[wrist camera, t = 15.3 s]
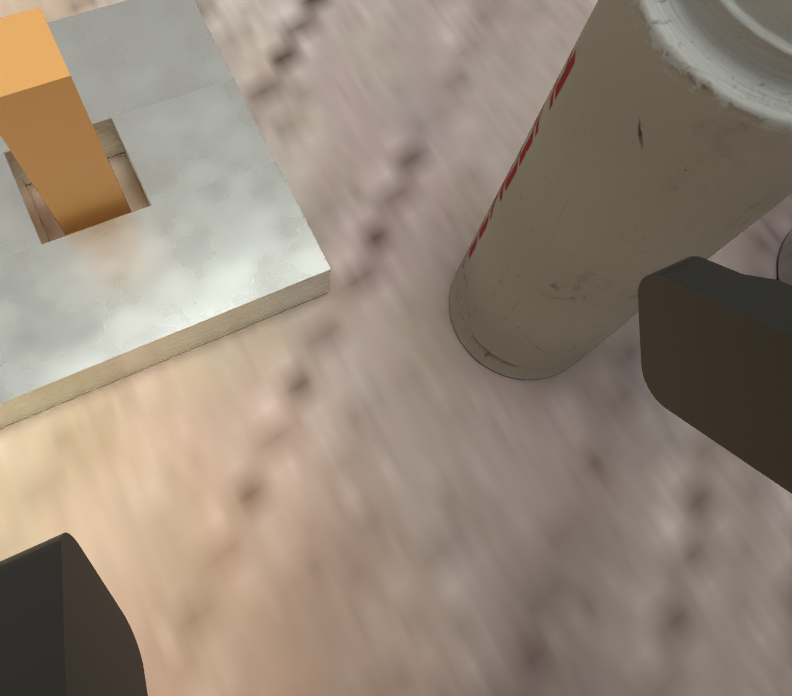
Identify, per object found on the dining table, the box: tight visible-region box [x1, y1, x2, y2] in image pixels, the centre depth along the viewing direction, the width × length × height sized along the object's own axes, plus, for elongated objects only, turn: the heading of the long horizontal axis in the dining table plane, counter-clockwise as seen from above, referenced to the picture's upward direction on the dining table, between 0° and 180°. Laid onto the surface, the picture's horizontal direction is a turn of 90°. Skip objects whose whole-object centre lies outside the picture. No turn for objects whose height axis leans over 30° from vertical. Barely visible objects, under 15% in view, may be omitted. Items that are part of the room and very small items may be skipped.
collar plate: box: [0, 0, 331, 428], centre depth 36 cm, size 18×18×3 cm
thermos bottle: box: [449, 0, 792, 380], centre depth 26 cm, size 8×8×28 cm
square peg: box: [0, 7, 131, 235], centre depth 32 cm, size 3×3×12 cm
